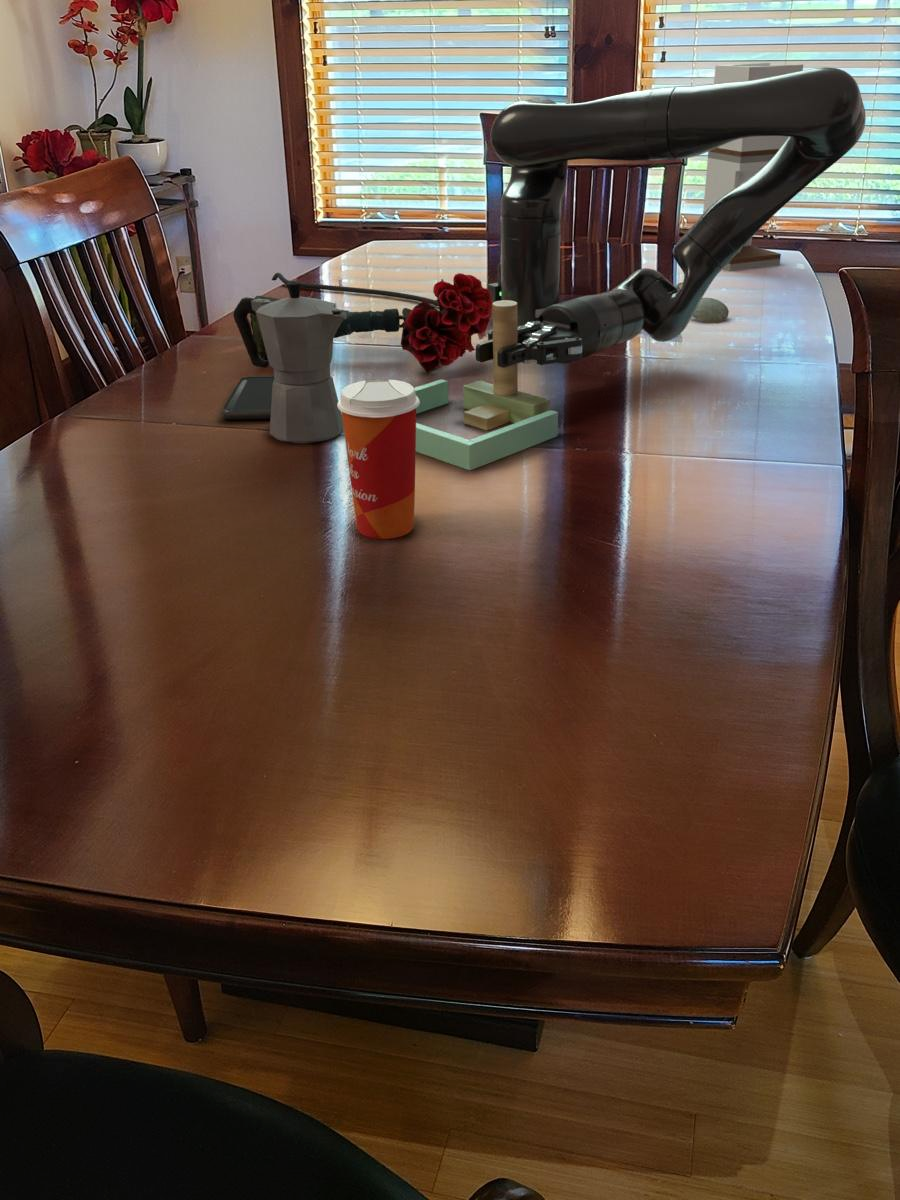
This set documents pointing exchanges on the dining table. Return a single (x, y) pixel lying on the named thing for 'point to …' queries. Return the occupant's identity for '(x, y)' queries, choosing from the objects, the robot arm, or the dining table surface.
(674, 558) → the dining table surface
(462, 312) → the carnation
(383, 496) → the paper cup
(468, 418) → the beige square block
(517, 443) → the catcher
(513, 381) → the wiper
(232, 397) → the phone
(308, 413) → the coffeepot
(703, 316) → the soupspoon
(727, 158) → the white pillar
